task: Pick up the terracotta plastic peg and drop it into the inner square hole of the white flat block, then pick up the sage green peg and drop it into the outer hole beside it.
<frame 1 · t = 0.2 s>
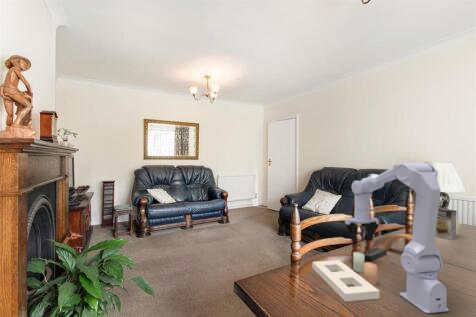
hand: (361, 240, 98), 10 cm above the table, tool pointing down, fingers open, 7 cm apart
white flat block: (341, 281, 83), on the table
peg terracotta: (370, 282, 83), on the table
coffee box: (443, 237, 132), on the table
multiport hub: (373, 257, 105), on the table
arch: (408, 257, 104), on the table
peg sage: (358, 269, 92), on the table
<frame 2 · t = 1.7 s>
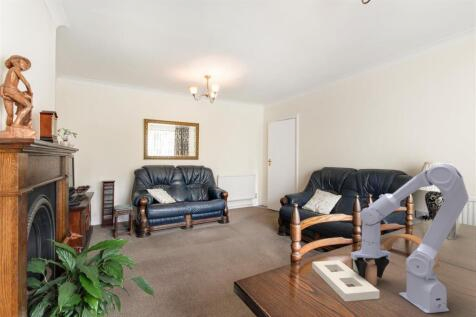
hand: (370, 277, 83), 2 cm above the table, tool pointing down, fingers open, 6 cm apart
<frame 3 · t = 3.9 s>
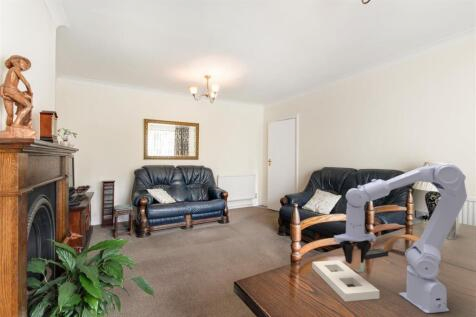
hand: (354, 262, 79), 9 cm above the table, tool pointing down, fingers closed on peg terracotta, 4 cm apart
peg terracotta: (354, 266, 79), point 7 cm above the table, touching gripper
when the fingers open (4 cm above the table, at t = 5.7 s): peg terracotta drops 2 cm, resting in white flat block.
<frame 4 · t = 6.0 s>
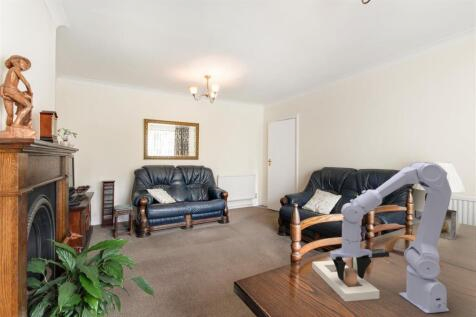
hand: (350, 278, 78), 4 cm above the table, tool pointing down, fingers open, 7 cm apart
peg terracotta: (350, 289, 78), resting in white flat block
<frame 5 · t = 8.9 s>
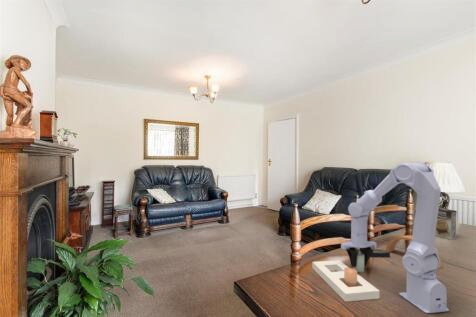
hand: (358, 265, 92), 2 cm above the table, tool pointing down, fingers closed on peg sage, 4 cm apart
peg sage: (358, 269, 92), on the table, touching gripper
when the fingers open (4 cm above the table, at t = 12.5 s): peg sage drops 2 cm, resting in white flat block.
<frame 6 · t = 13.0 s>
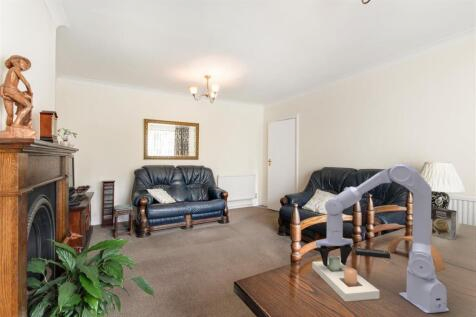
hand: (334, 264, 88), 4 cm above the table, tool pointing down, fingers open, 7 cm apart
peg sage: (334, 274, 88), resting in white flat block
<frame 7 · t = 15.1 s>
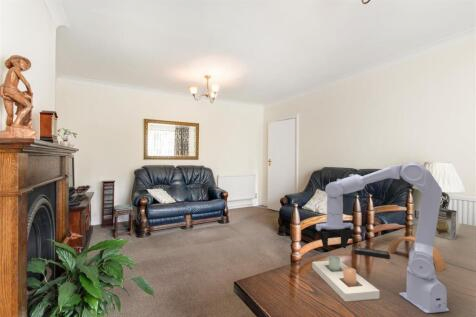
hand: (334, 247, 88), 10 cm above the table, tool pointing down, fingers open, 7 cm apart
at the end: peg terracotta 0.1 cm from the target spot on the white flat block, point 0.1 cm above the white flat block's base; peg sage 0.1 cm from the target spot on the white flat block, point 0.0 cm above the white flat block's base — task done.
